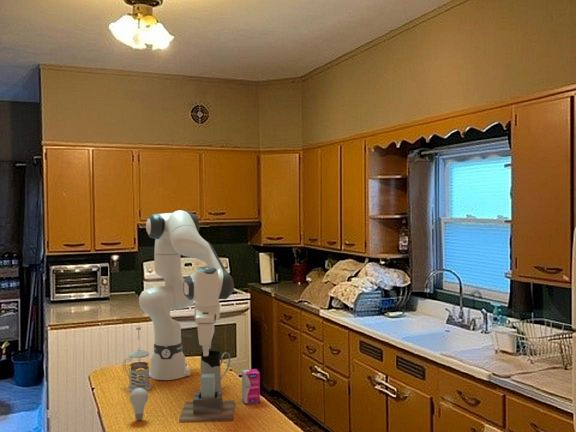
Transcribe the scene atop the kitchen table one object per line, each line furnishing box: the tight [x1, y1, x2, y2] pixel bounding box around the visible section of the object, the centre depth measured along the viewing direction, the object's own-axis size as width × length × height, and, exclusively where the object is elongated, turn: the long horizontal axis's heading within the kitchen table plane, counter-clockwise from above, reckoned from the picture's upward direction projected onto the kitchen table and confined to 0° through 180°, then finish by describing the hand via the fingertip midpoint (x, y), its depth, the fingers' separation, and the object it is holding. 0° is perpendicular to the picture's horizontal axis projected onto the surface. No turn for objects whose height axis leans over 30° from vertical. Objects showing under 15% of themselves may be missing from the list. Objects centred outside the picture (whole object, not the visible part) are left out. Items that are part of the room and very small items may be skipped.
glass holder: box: [199, 350, 231, 392], centre depth 233 cm, size 9×14×15 cm, turn 135°
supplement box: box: [241, 368, 261, 405], centre depth 217 cm, size 6×6×12 cm
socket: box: [178, 390, 236, 423], centre depth 207 cm, size 18×18×6 cm
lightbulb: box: [129, 388, 149, 421], centre depth 199 cm, size 6×6×11 cm
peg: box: [200, 374, 215, 399], centre depth 207 cm, size 4×4×12 cm
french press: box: [122, 325, 153, 393], centre depth 235 cm, size 10×12×25 cm
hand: (207, 352), depth 206 cm, fingers open, 8 cm apart
